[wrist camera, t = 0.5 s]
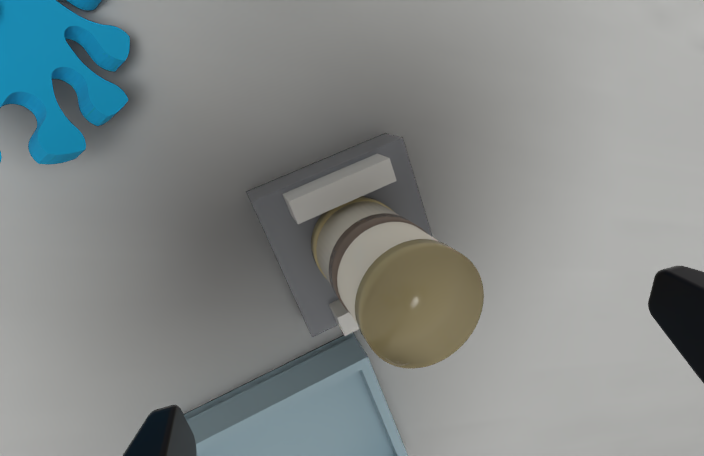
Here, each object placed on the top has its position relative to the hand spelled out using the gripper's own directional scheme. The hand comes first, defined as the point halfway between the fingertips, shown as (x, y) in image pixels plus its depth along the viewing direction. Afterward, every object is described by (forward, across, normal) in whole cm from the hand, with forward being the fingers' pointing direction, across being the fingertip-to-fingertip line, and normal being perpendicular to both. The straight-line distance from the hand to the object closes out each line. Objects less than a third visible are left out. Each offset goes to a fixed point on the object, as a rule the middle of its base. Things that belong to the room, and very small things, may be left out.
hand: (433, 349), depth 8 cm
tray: (+11, +5, +16) cm, 20 cm away
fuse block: (+14, 0, +5) cm, 15 cm away
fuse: (+12, -1, +5) cm, 13 cm away
